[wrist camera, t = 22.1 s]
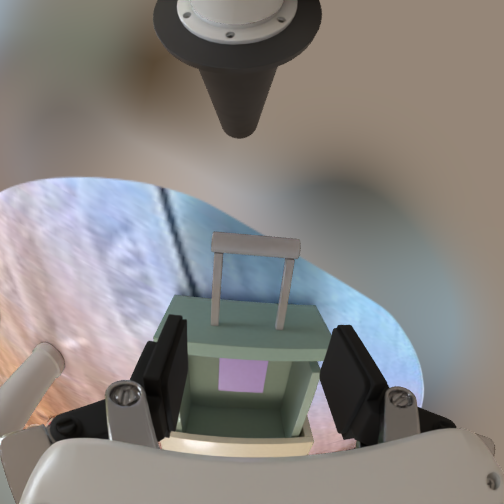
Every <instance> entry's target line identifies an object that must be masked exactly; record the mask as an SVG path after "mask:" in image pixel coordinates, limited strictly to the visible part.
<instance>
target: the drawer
mask: <svg viewBox="0 0 504 504" xmlns="http://www.w3.org/2000/svg"><path fill="white" fill-rule="evenodd" d="M211 251H212V252H215V253H214V266H213V284H212V299H210V298H199V297H189V296H180V295H174V297H173V299H172V301H171V303H170V305H169V307H168V309H167V311H166V313H165V315H164V317H163V319H162V321H161V323H160V325H159V327H158V329H157V331H156V333H155V335H154V337H153V339H154V342H157V341H158V338H159V336H160V334H161V331H162V329H163V327H164V324H165V322H166V320H167V317H168V315H169V314H174V315H182V317H183V319H187V347H188V374H187V379H186V383H185V388H184V393H183V397H182V402H181V407H180V412H179V417H178V422H177V427H176V431H175V432H182V433H189V434H198V435H207V436H218V437H233V438H295V437H299V434H300V432H301V429H302V426H303V424H304V421H305V419H306V416H307V413H308V411H309V408H310V405H311V402H312V400H313V397H314V394H315V391H316V388H317V385H318V382H319V379H320V377H319V376H320V371H321V370H320V367H319V365H318V362H317V361H324V358H325V355H326V352H327V349H328V346H329V342H330V339H331V336H332V335H331V334H330V332H329V330H328V328H327V326H326V324H325V322H324V320H323V319H322V317H321V315H320V313H319V311H318V309H317V308H316V306H315V305H294V304H288V299H289V293H290V287H291V280H292V274H293V267H294V261H295V260H294V259H298V257H299V255H300V240H299V239H290V238H281V237H270V236H259V235H248V234H236V233H224V232H213V235H212V243H211ZM223 253H230V254H242V255H254V256H266V257H278V258H285V263H284V270H283V277H282V284H281V291H280V297H279V304H276V303H260V302H246V301H233V300H221V299H220V294H221V279H222V264H223ZM219 358H227V359H241V360H261V361H268V367H267V372H266V378H265V383H264V389H263V393H253V392H233V391H220V390H218V380H219Z"/></svg>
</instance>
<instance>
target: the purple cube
mask: <svg viewBox="0 0 504 504" xmlns="http://www.w3.org/2000/svg"><path fill="white" fill-rule="evenodd" d="M267 367H268V361H261V360H241V359H227V358H219V380H218V390H220V391H233V392H253V393H263V389H264V383H265V378H266V372H267Z"/></svg>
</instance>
